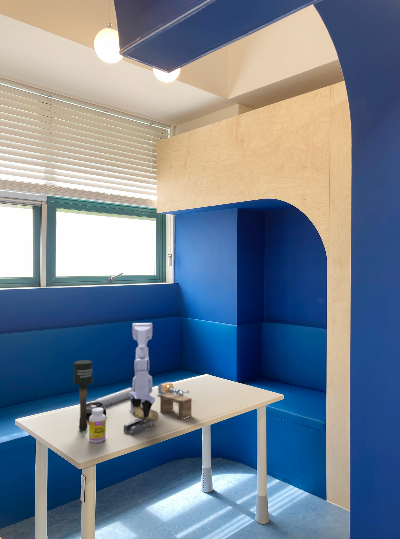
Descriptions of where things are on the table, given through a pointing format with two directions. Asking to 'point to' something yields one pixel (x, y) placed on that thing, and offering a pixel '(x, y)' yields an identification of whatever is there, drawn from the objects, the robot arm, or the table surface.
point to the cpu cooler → (94, 405)
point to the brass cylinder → (140, 414)
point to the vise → (169, 389)
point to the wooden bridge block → (169, 398)
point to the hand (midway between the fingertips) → (141, 415)
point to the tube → (115, 397)
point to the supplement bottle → (97, 426)
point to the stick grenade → (83, 387)
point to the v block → (137, 426)
